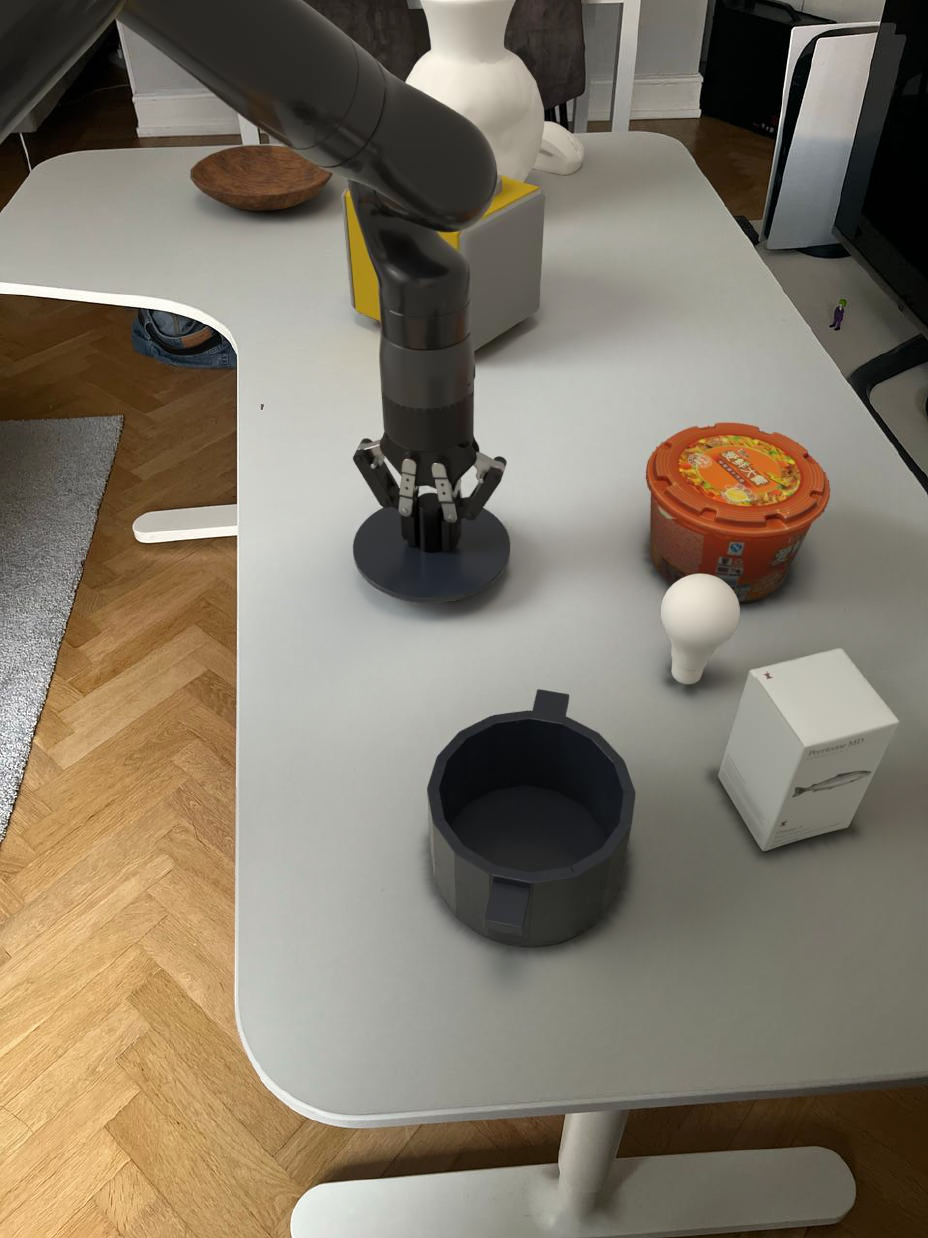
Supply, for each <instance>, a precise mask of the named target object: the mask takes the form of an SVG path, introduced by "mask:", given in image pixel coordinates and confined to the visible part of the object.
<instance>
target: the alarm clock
mask: <svg viewBox="0 0 928 1238" xmlns="http://www.w3.org/2000/svg"><path fill="white" fill-rule="evenodd" d="M341 206H342V218H343V229H344V240H345V241H344V242H345V251H346V260H347V271H348V284H349V294H350V303H351V306H352V309H354V310H355V312H357V313H359V314H360V315H364V316H366V317H367V318H370V319H373V320H375V321H377V322H378V323H380V310H379V296H378V280H377V276H376V273H375V271H374V268H373V265H372V263H371V260H370V258H369V255H368V252H367V249H366V245H365V242H364V239H363V236H362V232H361V229H360V226H359V223H358V220H357V216H356V213H355V210H354V207H353V203H352V199H351V195H350V191H349V187H347V188H344V190H343V192H342V194H341ZM545 207H546V195H545V194H544V192H543V191H542V190H541V188H540V186H537V185H534V184H531V183H527V182H525V181H524V182H521V181H517V180H514V179H511V178H508V177H504V176H501V175H498V174H497V187H496V192H495V196H494V198H493V201H492V203H491V205H490V207H489V209H488V210H487V212H486V213H485V214H484V215H483V216H482V218H481V219H480V220H479V221H477V222H476V223H475V224H474V225H472V226H470V227H468V228H466V229H464V230H461V231H457V232H450V233H446V232H438V231H437V232H438V233H439V235H440V236H441V237H442V238H443V239H444V240H445V241H447V242H448V243H449V244H450V245H452V246H453V247H454V248H456V249H457V250H458V251H459V252H460V253H461V254H462V255H463V256H464V257H465V258H466V260H467V262H468V264H469V267H470V271H471V291H472V295H471V296H472V303H471V333H472V341H473V348H474V352H475V351H477V350H478V349H480V348H481V347H483V346H485V345H486V344H488V343H490V342H491V341H493V340H495V339H496V338H497V337H499V336H500V335H502V334H503V333H505V332H506V331H508V330H510V329H511V328H513V327H514V326H516V325H517V324H519V323H521V322H522V321H524V320H525V319H527V318H528V317H530V316H531V315H533V314H534V313H537V312H538V310H539V308H540V303H541V285H542V267H543V250H544V249H543V247H544V229H545V227H544V226H545V209H546V208H545Z"/></svg>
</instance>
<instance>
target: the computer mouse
mask: <svg viewBox="0 0 928 1238" xmlns="http://www.w3.org/2000/svg"><path fill="white" fill-rule="evenodd" d="M584 157H585V148H584V146H583V144H582V142H581V141H580V140H578V139H577V138H576V136H575V135H574V134H573V133H572V132H570V131H569V130H567V128H565V127H563V126H562V125H560V124H558V123H556V122H554V121H546V120H544V131H543V136H542V144H541V148H540V151H539V153H538V155H537V158H536V161H535V164H534V166H533V168H532V169H531V170H538V171H542V172H546V173H550V174H555V175H556V174H557V175H562V176H568V175H571V174H574V173H575V172H576V171H577V172H578V170H579V169H580V168H581V167H582V165H583V161H584Z"/></svg>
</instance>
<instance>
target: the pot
mask: <svg viewBox="0 0 928 1238" xmlns="http://www.w3.org/2000/svg"><path fill="white" fill-rule="evenodd" d="M569 702H570V694H569V693H564V692H557V691H552V690H545V689H540V688H537V690H536V693H535V697H534V701H533V707H532V710H531V709H529V710H520V711H513V712H506V713H498V714H492V715H489V716H487V717H486V718H483V719H481V720H480V721H478V722H475V723H473V724H471V725H470V726H468V727H465V728H464V729H461V730H460V731H458V732H457V733H456V735H455V736H454V737H453V738H452V739H451V740H450V741H449V742H448V744H446V745H445V747H443V749H442V750H441V751H440V753H439V754H438V755H437V756H436V757H435V761H434V764H433V766H432V769H431V770H432V771H431V774H430V777H429V780H428V783H427V786H426V797H427V812H428V814H427V815H428V830H429V833H428V834H429V849H430V859H431V865H432V872H433V877H434V882H435V883H434V884H435V886H436V888H437V890H438V893H439V895H440V896H441V898H442V900H443V901H444V903H445V905H446V906H447V907H448V909H449V910H450V911H451V913H452V914H453V915H455V917H456V918H457V919H458V920H460V921H461V923H463V924H464V925H465V926H467V927H468V928H469V929H471V930H472V931H474V932H476V933H477V934H479V935H480V936H483V937H485V938H487V939H490V940H491V941H495V942H496V943H497V942H498V943H501V944H505V945H509V946H514V947H525V948H526V947H528V948H531V947H532V948H535V947H536V948H537V947H545V946H546V947H547V946H551V945H557V944H559V943H562V942H566V941H568V940H571V939H573V938H575V937H576V936H579V935H581V934H582V933H584V932H585V931H587V930H589V929H590V928H591V927H593V926H594V925H595V924H596V923H597V922H598V921H599V920H600V919H601V918H602V917H603V915H605V913H606V912H607V911H608V909H609V908H610V906H611V904H612V902H613V901H614V898H615V897H616V894H617V893H618V892H619V890H620V886H621V881H622V875H623V870H624V865H625V861H626V855H627V851H628V847H629V841H630V835H631V831H632V825H633V818H634V810H635V802H636V794H637V793H636V790H635V787H634V783H633V781H632V778H631V776H630V772H629V770H628V768H627V764H626V761H625V760H624V758H623V757H622V756H621V755H620V754H619V753H618V752H617V751H616V749H614V747H613V746H612V745H611V744H610V743H609V742H608V741H607V740H606V739H605V737H603V735H602V734H600V732H598V731H596V730H594V729H592V728H590V727H588V726H586V725H585V724H582V723H581V722H578V721H577V720H574V719H573V718H571V717H569V716H567V713H568V708H569V704H570V703H569Z"/></svg>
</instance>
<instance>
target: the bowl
mask: <svg viewBox="0 0 928 1238" xmlns="http://www.w3.org/2000/svg"><path fill="white" fill-rule="evenodd" d="M333 175H334V174H333V173H330V172H328V171H326V170H323V169H322V168H320V167H318V166H316V165H315V164H313V163H311V162H309V161H308V160H306V159H305V158H303V157H301V156H300V155H298V154H297V153H295V152H293V151H292V150H290V149H288V148H287V147H285V146H284V145H282V146H281V145H273V144H272V145H270V144H265V145H264V144H262V145H261V144H259V145H257V144H256V145H253V144H252V145H240V146H234V147H229V148H225V149H221V150H219V151H215V152H214V153H210V154H209V155H207V156H205V157H204V158H202V159H200V160H199V161H197V162H196V163H195V164H194V165H193V166H192V167H191V169H190V173H189V178H190V180H191V181H192V183H193V184H194V185H195V186H196V187H197V189H198V190H200V191H201V192H202V193H203V194H204V195H206V196H208V197H209V198H211V199H213V200H215V201H217V202H218V203H221V204H224V205H227V206H229V207H231V208H234V209H240V210H249V211H253V212H254V211H255V212H258V211H259V212H260V211H274V210H276V211H277V210H283V209H284V210H285V209H288V208H289V209H290V208H292V207H295V206H297V205H299V204H302V203H305V202H307V201H310V200H313V199H314V198H315V197H317V195H319V194H320V193H321V191H322V190H323V189H324V188H325V186H327V184H328V182H329V181H330V180H331V178H332V177H333Z"/></svg>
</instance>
